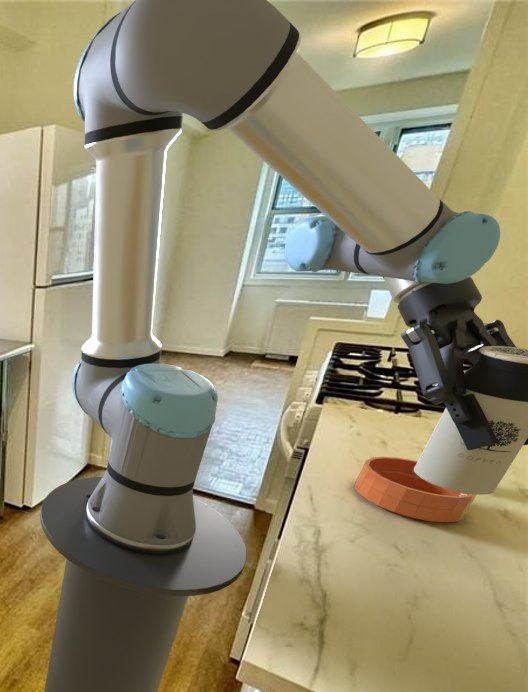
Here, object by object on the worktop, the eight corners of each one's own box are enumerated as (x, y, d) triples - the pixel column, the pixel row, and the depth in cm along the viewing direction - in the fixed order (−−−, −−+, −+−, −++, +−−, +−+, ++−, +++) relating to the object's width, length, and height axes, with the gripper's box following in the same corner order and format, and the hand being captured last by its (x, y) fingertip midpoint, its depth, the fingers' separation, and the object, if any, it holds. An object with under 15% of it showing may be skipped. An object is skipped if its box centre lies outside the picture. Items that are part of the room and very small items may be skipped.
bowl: (348, 501, 81) (360, 475, 79) (358, 473, 90) (369, 449, 88) (462, 535, 73) (479, 508, 70) (461, 501, 81) (476, 475, 79)
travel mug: (414, 462, 71) (477, 341, 63) (492, 481, 66) (571, 353, 58) (410, 481, 66) (478, 353, 58) (493, 504, 61) (580, 367, 53)
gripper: (397, 273, 62) (479, 439, 55) (525, 271, 65) (619, 427, 58) (342, 308, 69) (409, 459, 62) (461, 304, 72) (537, 447, 65)
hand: (510, 443), depth 60 cm, fingers closed on travel mug, 8 cm apart
